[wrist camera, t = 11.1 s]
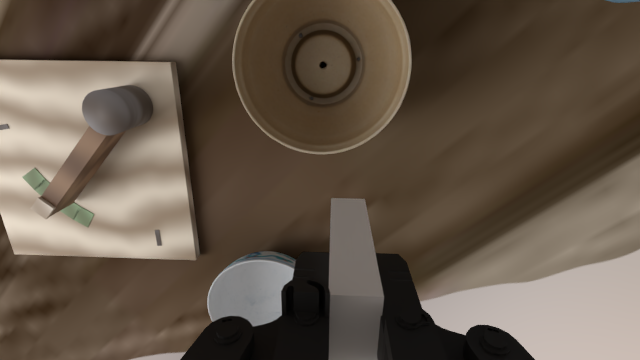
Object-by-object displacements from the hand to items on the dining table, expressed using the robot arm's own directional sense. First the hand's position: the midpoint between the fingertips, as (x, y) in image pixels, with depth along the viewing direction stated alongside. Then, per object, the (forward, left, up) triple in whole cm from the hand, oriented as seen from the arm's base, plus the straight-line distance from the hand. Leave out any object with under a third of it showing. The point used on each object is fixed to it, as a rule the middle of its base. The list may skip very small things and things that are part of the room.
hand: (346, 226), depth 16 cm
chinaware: (+24, -9, -30) cm, 39 cm away
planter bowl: (-6, -2, -30) cm, 30 cm away
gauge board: (+8, -33, -29) cm, 45 cm away
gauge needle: (+4, -30, -27) cm, 41 cm away
